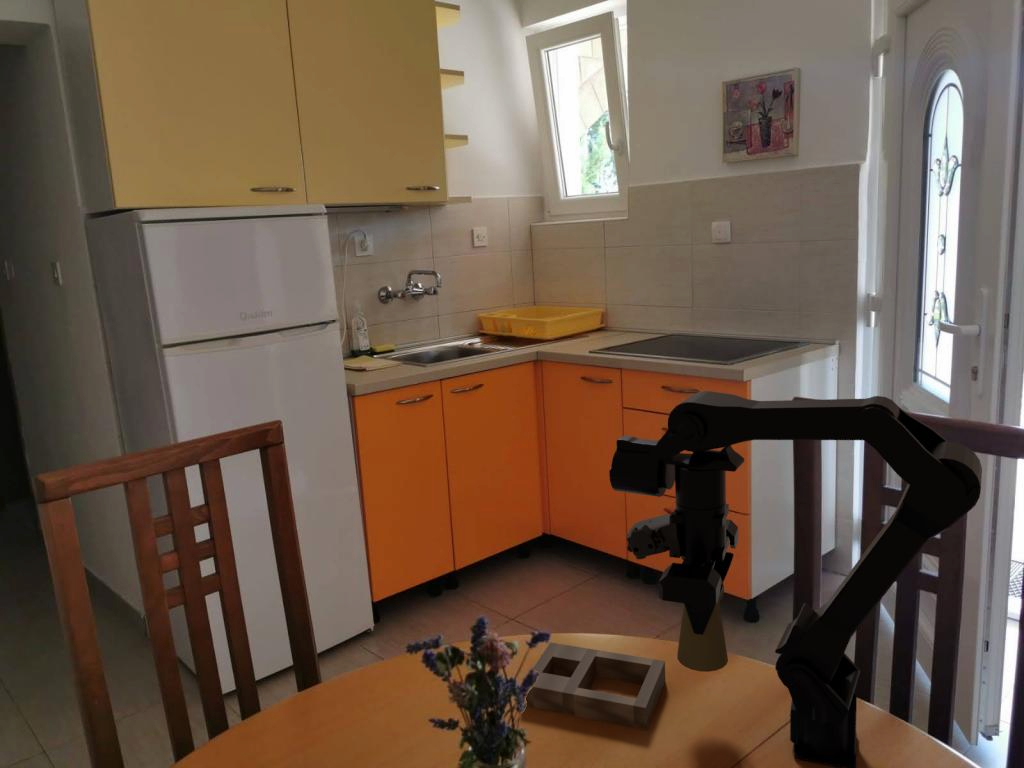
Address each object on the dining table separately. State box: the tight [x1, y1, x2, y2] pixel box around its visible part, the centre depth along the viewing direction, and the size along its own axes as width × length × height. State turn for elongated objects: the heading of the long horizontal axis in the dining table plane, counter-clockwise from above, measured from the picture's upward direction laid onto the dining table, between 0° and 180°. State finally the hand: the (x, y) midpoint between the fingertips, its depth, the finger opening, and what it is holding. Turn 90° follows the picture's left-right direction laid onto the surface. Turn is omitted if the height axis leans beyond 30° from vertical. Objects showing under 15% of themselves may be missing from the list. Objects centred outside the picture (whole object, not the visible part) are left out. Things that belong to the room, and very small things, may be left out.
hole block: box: [526, 641, 666, 731], centre depth 103 cm, size 16×11×3 cm, turn 67°
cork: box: [676, 579, 729, 673], centre depth 95 cm, size 6×6×11 cm
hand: (702, 623), depth 95 cm, fingers closed on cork, 4 cm apart
